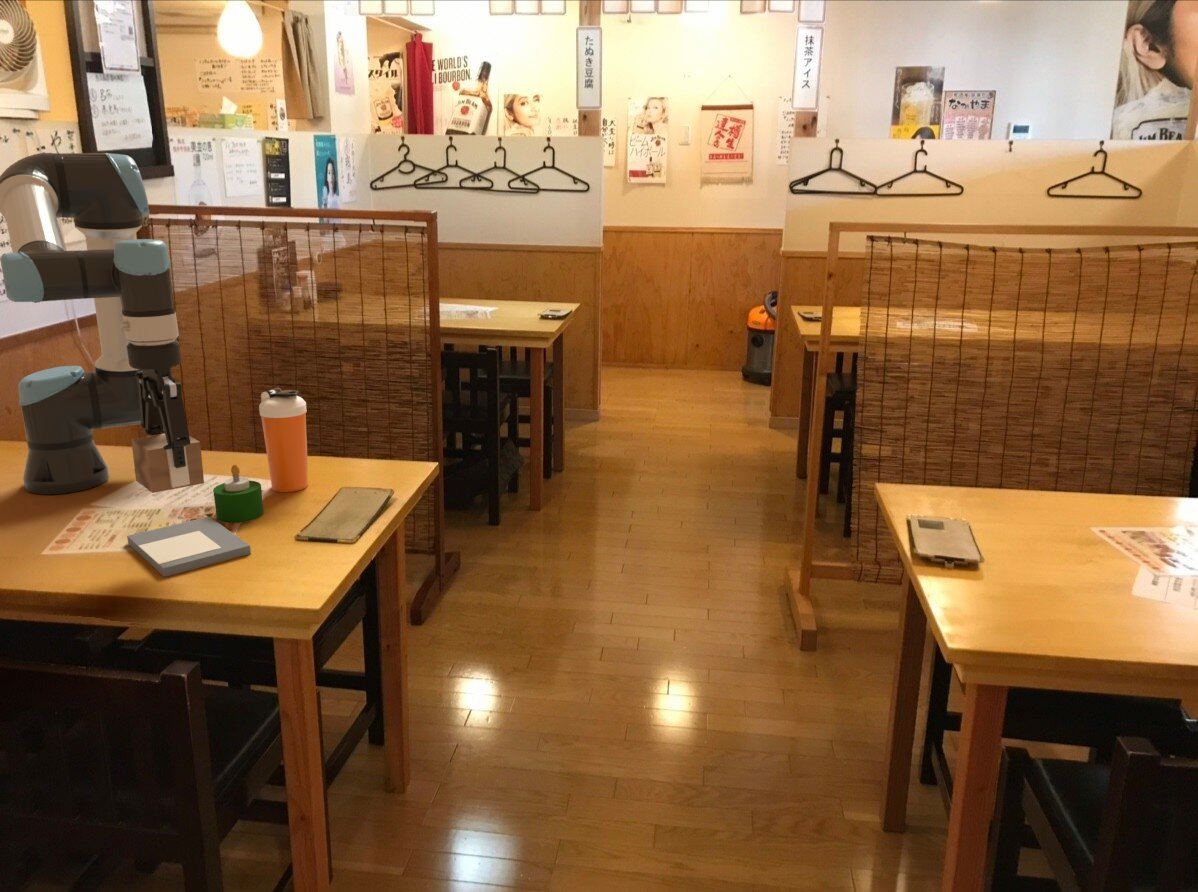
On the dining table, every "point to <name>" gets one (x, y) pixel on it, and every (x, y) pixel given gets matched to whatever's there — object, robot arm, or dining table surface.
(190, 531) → the board
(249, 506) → the candle
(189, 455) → the block
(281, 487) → the shaker bottle
